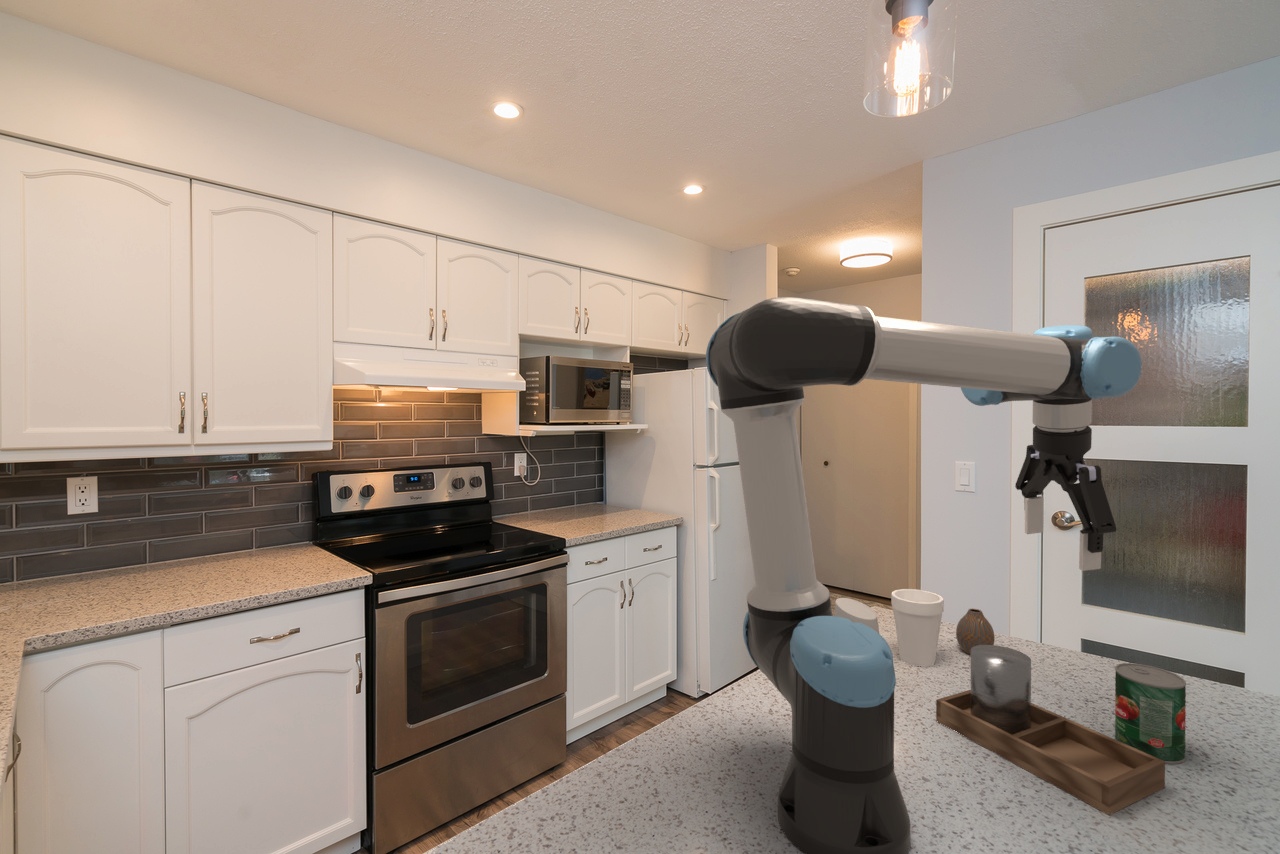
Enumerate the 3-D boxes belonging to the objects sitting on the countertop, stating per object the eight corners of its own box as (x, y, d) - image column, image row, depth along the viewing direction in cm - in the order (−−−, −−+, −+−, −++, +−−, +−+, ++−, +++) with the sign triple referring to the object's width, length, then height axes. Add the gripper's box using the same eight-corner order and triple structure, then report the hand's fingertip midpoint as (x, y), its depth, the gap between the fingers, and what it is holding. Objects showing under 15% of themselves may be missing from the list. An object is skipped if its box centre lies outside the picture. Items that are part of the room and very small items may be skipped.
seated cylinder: (1029, 745, 85) (1030, 670, 85) (967, 728, 90) (967, 657, 90) (1031, 721, 92) (1032, 652, 92) (973, 707, 97) (973, 641, 96)
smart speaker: (878, 692, 104) (878, 614, 104) (825, 680, 109) (825, 606, 109) (885, 671, 113) (885, 599, 112) (836, 661, 117) (836, 592, 117)
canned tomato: (1201, 764, 82) (1202, 687, 82) (1144, 764, 82) (1145, 686, 82) (1153, 733, 90) (1153, 662, 90) (1101, 733, 90) (1101, 663, 90)
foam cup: (932, 651, 122) (932, 589, 121) (951, 671, 112) (951, 604, 112) (885, 650, 122) (885, 588, 122) (900, 669, 113) (900, 603, 113)
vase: (964, 643, 126) (964, 602, 126) (999, 653, 121) (1000, 610, 120) (950, 651, 121) (950, 609, 121) (986, 662, 116) (986, 618, 116)
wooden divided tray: (1164, 787, 77) (1165, 761, 77) (1108, 815, 72) (1109, 787, 72) (988, 704, 99) (988, 684, 99) (936, 721, 94) (936, 699, 94)
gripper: (1152, 443, 79) (1145, 583, 84) (1035, 406, 104) (1035, 517, 108) (1095, 450, 80) (1091, 590, 85) (992, 412, 104) (994, 522, 109)
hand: (1060, 549), depth 97 cm, fingers open, 13 cm apart
